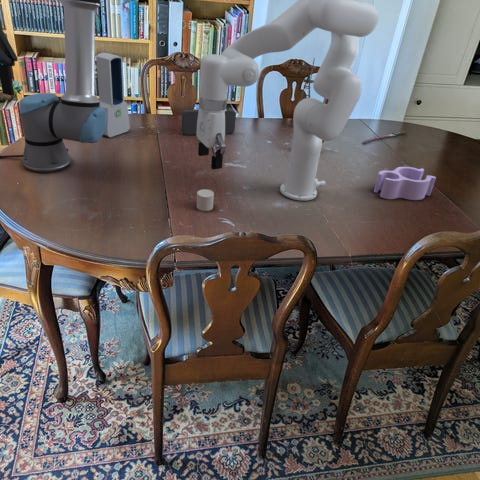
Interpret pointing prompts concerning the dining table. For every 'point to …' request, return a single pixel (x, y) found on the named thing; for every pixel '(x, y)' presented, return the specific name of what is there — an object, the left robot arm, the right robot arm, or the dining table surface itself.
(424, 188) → the clip
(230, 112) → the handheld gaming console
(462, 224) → the dining table surface
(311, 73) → the miniature windmill
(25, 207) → the dining table surface
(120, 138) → the dining table surface
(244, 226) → the dining table surface
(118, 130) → the electronic device
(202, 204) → the grey solid cylinder
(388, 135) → the sword
